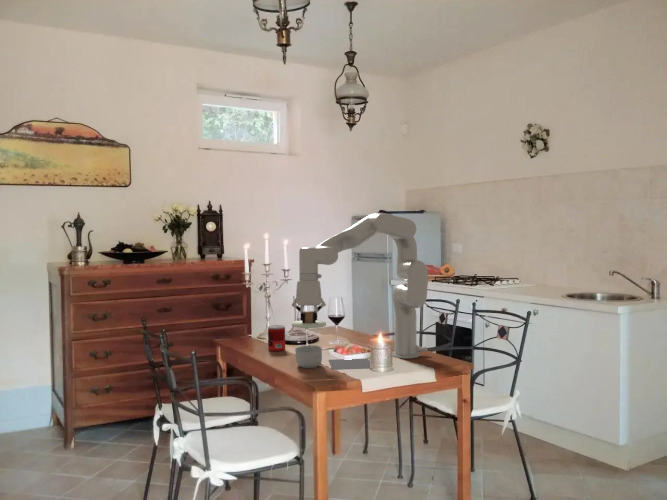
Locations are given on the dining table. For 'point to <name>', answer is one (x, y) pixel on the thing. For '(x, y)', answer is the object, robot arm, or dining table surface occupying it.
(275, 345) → the canned food
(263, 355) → the dining table surface
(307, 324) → the lid
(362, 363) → the mat
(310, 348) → the teacup
